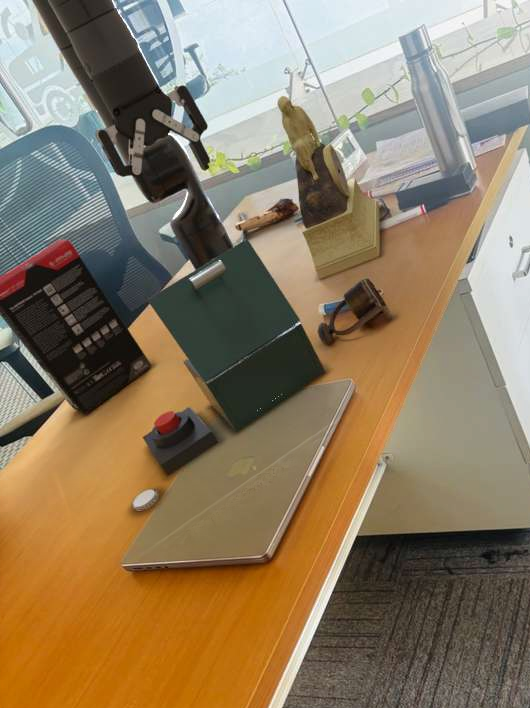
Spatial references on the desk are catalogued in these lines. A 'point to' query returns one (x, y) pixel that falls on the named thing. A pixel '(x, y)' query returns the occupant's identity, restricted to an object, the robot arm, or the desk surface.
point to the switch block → (180, 441)
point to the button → (167, 422)
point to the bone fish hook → (269, 215)
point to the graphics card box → (70, 326)
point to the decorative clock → (329, 200)
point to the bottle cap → (145, 499)
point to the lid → (224, 310)
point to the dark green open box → (262, 377)
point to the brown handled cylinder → (356, 309)
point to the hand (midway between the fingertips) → (180, 183)
